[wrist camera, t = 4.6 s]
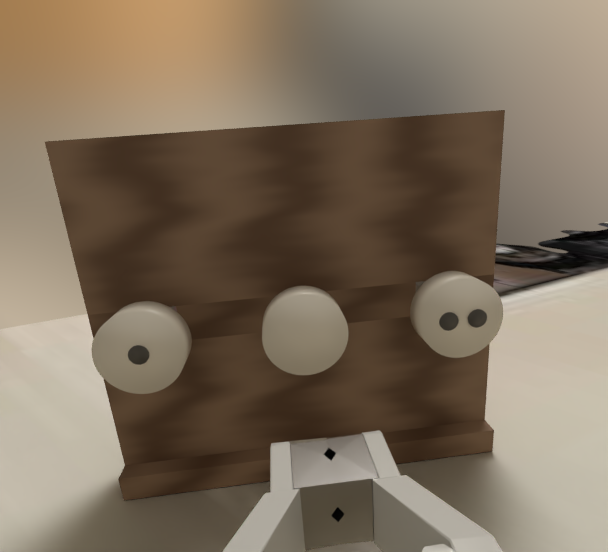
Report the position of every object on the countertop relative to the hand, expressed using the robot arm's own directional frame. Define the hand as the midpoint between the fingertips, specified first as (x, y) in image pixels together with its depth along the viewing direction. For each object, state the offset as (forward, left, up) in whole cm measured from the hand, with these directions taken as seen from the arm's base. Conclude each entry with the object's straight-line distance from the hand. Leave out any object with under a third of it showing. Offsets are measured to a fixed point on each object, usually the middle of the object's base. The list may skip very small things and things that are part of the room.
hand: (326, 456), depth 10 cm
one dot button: (-4, +12, -2) cm, 13 cm away
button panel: (+4, +13, -10) cm, 17 cm away
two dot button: (+10, +7, -2) cm, 13 cm away
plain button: (+3, +10, -2) cm, 10 cm away
